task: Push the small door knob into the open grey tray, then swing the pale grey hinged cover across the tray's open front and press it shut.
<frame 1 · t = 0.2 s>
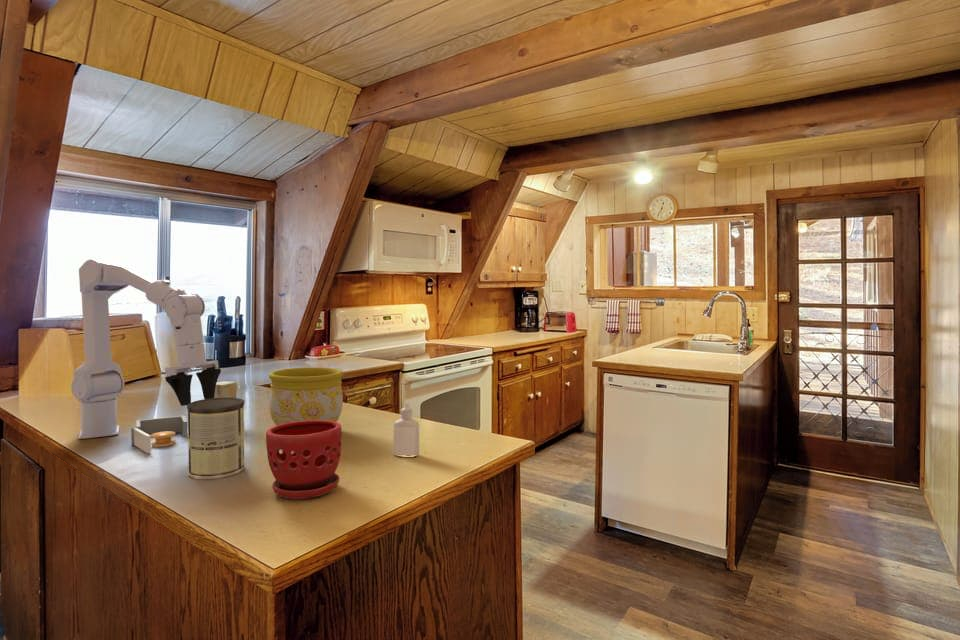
hand: (198, 402, 121), 10 cm above the counter, tool pointing down, fingers open, 7 cm apart
coffee can: (217, 472, 104), on the counter
open grey tray: (161, 436, 129), on the counter
door knob: (163, 444, 123), on the counter
plant pot: (304, 491, 95), on the counter
flowerpot: (306, 435, 132), on the counter
cover: (141, 440, 119), point 2 cm above the counter, hinge at 75.0°
eye dropper bottle: (406, 456, 116), on the counter
skincare box: (222, 428, 138), on the counter
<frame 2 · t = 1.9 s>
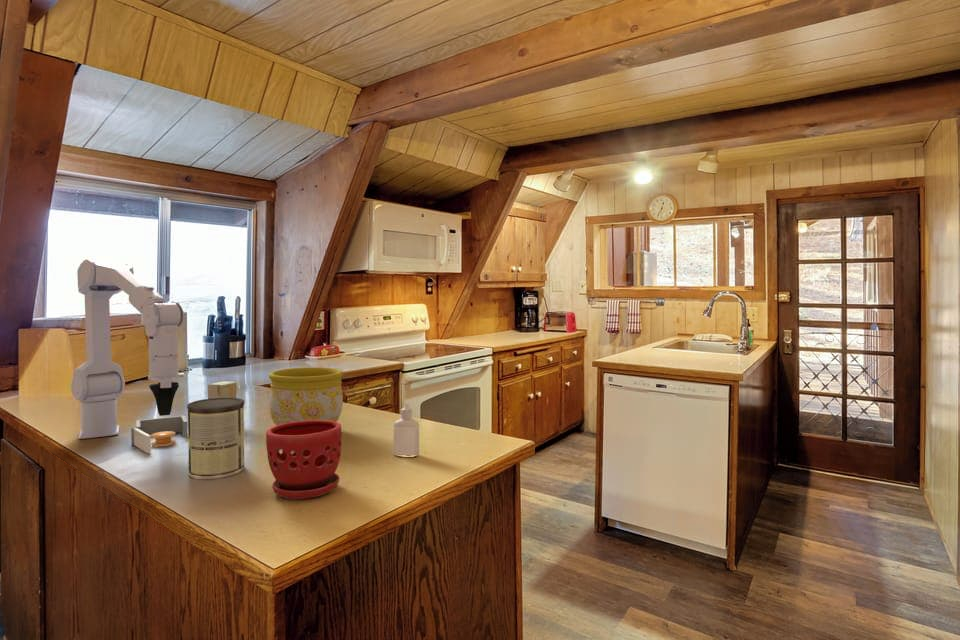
hand: (164, 414, 117), 8 cm above the counter, tool pointing down, fingers closed
nothing on the counter moved.
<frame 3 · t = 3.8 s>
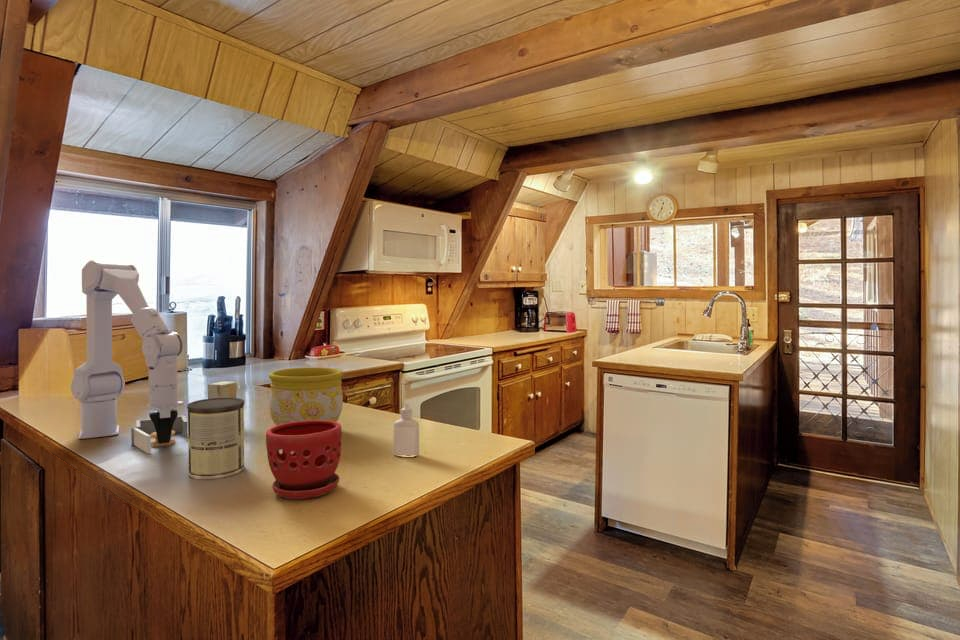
hand: (163, 442, 120), 1 cm above the counter, tool pointing down, fingers closed
door knob: (163, 443, 123), on the counter, touching gripper
everything else where it was.
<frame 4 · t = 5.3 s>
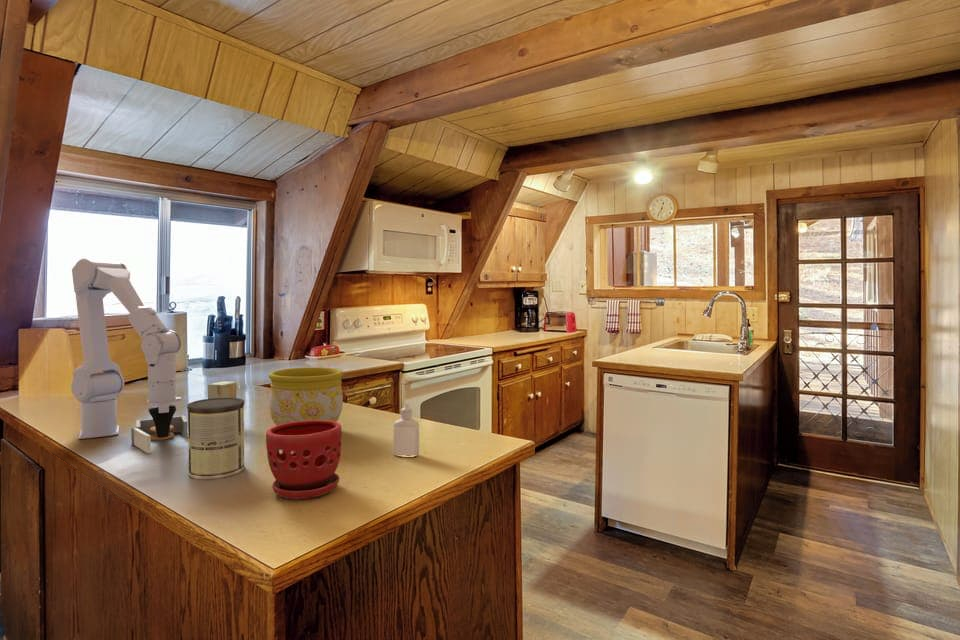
hand: (162, 436, 125), 1 cm above the counter, tool pointing down, fingers closed
door knob: (162, 437, 128), on the counter, touching gripper
everything else where it was.
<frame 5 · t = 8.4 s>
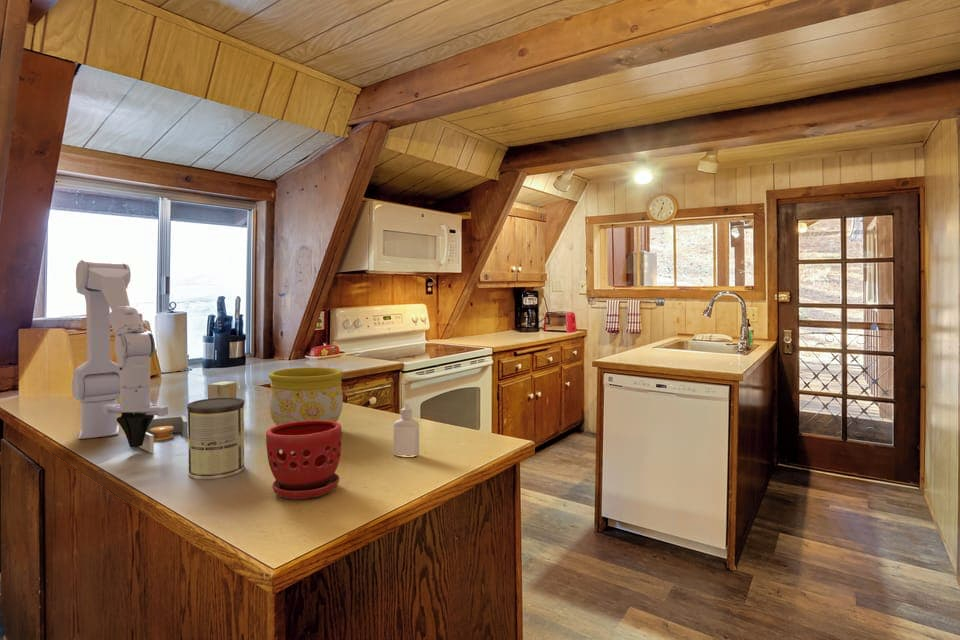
hand: (136, 446, 115), 1 cm above the counter, tool pointing down, fingers closed
door knob: (162, 438, 128), on the counter
cover: (142, 439, 119), point 2 cm above the counter, hinge at 71.7°, touching gripper
everything else where it was.
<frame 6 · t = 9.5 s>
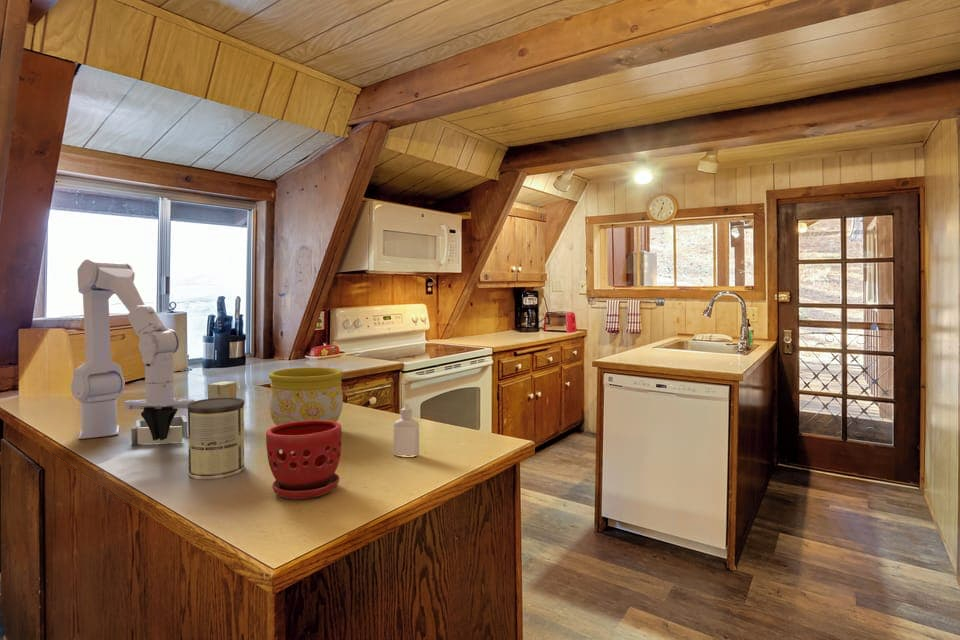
hand: (160, 439, 121), 2 cm above the counter, tool pointing down, fingers closed, pressing on cover
cover: (156, 435, 123), point 2 cm above the counter, hinge at 22.7°, touching gripper
everything else where it was.
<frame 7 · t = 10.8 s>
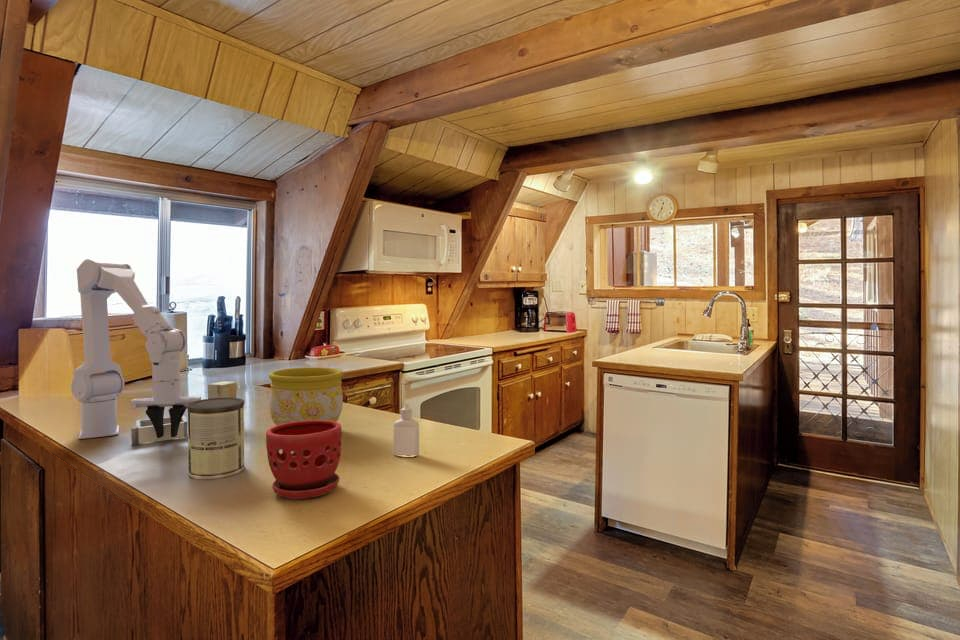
hand: (167, 436, 124), 2 cm above the counter, tool pointing down, fingers closed
cover: (158, 433, 125), point 2 cm above the counter, hinge at -2.4°, touching gripper
everything else where it was.
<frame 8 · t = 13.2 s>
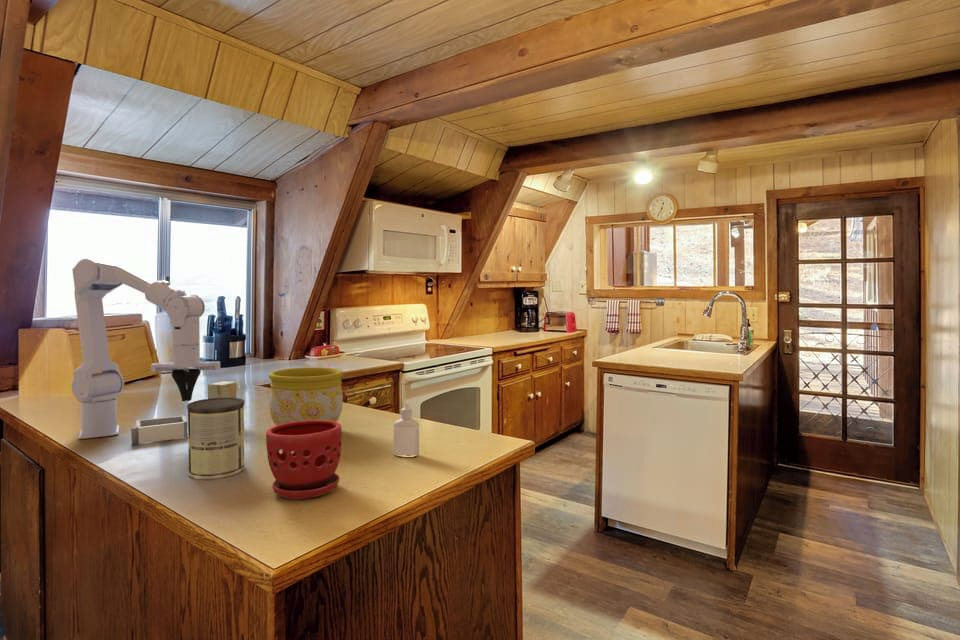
hand: (186, 400, 125), 10 cm above the counter, tool pointing down, fingers closed
cover: (158, 433, 125), point 2 cm above the counter, hinge at -2.1°
everything else where it was.
at the end: door knob 0.4 cm off-centre on the open grey tray, point 0.0 cm above the open grey tray's base; cover at -2° (first picture: +75°) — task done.
